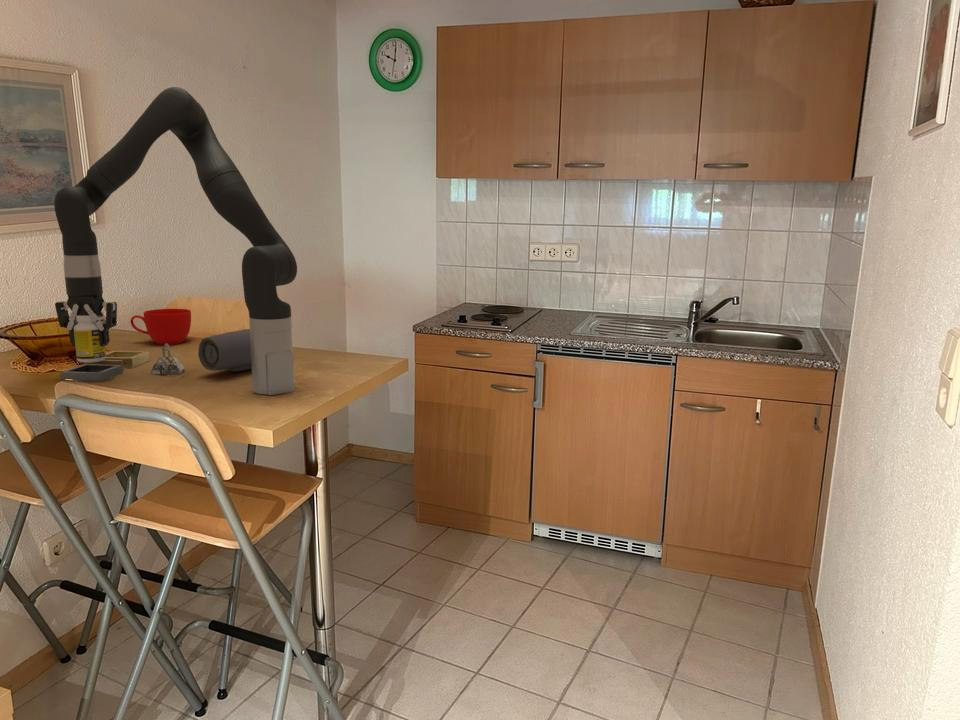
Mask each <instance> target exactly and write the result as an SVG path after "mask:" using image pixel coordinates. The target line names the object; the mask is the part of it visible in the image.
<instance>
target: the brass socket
mask: <svg viewBox="0 0 960 720" xmlns="http://www.w3.org/2000/svg"><path fill="white" fill-rule="evenodd" d="M105 360H123V366H124V369H134V368H136V367H138V366H141V365H143V364H146V363H147V362H150V351H145V350H144V351H143V350H142V351H139V350H138V351H137V350H133V351H132V350H112V351H109V352H107V353H106V359H105Z"/></svg>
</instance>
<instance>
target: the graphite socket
mask: <svg viewBox="0 0 960 720" xmlns="http://www.w3.org/2000/svg"><path fill="white" fill-rule="evenodd" d="M123 373H124V370H123V368H122V365H102V364H85V363H83V364H80V365H79V366H78V365H77V366H74V367H72V368H69V369H65V370H62V371H60V380H61V381H62V380H65V379H73V380H78V381H77V382H96V383H101V382H105V381H106V380H109V379H111V378H113V377H114V378H115V377H116V376H119V375H121V374H123Z"/></svg>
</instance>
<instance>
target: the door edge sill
mask: <svg viewBox="0 0 960 720" xmlns="http://www.w3.org/2000/svg"><path fill="white" fill-rule="evenodd" d="M84 364H102V365H122V368H123V371H124V369H125V368H124V366H123V360H103V361H99V362H92V363H84Z"/></svg>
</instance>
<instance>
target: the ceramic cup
mask: <svg viewBox="0 0 960 720" xmlns="http://www.w3.org/2000/svg"><path fill="white" fill-rule="evenodd" d="M135 319H141V320H142V322H143V323H144V325H145V329H146V330H143V329H140V328H139V327H137V326H136V324H135V322H134V320H135ZM129 321H130V325H131V326H132V328H133V329H134V330H135V331H137V332H139V333H141V334H145V335H149V338H150V339H151V340H152V342H154V343H156V344H157V345H158V346H159V345H161V346H164V345H165V344H166V343H167V344H168V345H169V346H172V345H179V344H182V343H183V342H185V341H186V338H187V337H188V335H189V334H190V330H191V327H192V326H191V325H192V324H191V323H192V311H191V310H190V309H185V308H160V309H158V308H157V309H148V310H145V311H143V316H142V315H139V314H138V315H137V314H136V315H133V316H132V317H130V320H129Z"/></svg>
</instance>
